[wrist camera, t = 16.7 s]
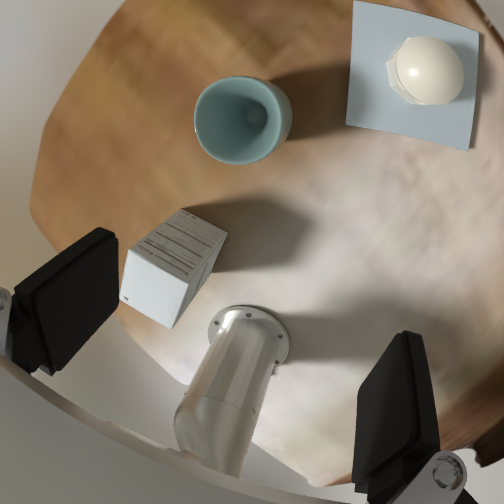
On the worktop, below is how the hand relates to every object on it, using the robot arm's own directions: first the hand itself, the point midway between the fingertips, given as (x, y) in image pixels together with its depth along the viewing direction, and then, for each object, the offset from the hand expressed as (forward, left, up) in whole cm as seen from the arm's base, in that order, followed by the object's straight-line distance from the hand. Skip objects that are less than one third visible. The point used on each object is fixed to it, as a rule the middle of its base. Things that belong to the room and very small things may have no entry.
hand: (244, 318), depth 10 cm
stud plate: (+11, -10, -28) cm, 32 cm away
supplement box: (-13, +14, -28) cm, 34 cm away
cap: (+11, -10, -27) cm, 31 cm away
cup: (+4, +6, -28) cm, 29 cm away
